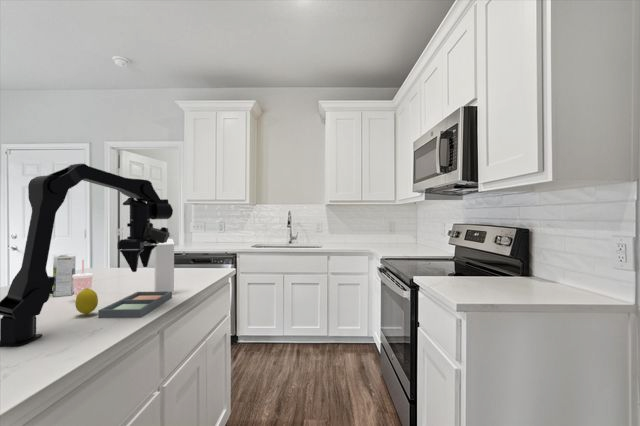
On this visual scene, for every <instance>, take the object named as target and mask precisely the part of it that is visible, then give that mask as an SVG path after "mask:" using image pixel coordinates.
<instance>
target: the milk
mask: <svg viewBox="0 0 640 426" xmlns="http://www.w3.org/2000/svg"><path fill="white" fill-rule="evenodd" d="M169 235H170V237H168V240H167V242H164V243H159V244H154V245H158V246H157V247H155V248H154V292H162V291H172V296H173V295H175V242H174V234H169Z"/></svg>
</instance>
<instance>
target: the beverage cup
mask: <svg viewBox="0 0 640 426" xmlns="http://www.w3.org/2000/svg"><path fill="white" fill-rule="evenodd" d="M84 265H85V260H84V259H82V261H81V270H82V271H81V273H75V274H74V275H72V278H73V283H74V293H73V294H74V295H73V297H74V302H75V301H76V297H77V295H78V294H79V293H80V292H81V291H83V290H85V289H86V288H88V289H91V290H93V289H92V286H93V278H94V273H92V272H85V267H84Z"/></svg>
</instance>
